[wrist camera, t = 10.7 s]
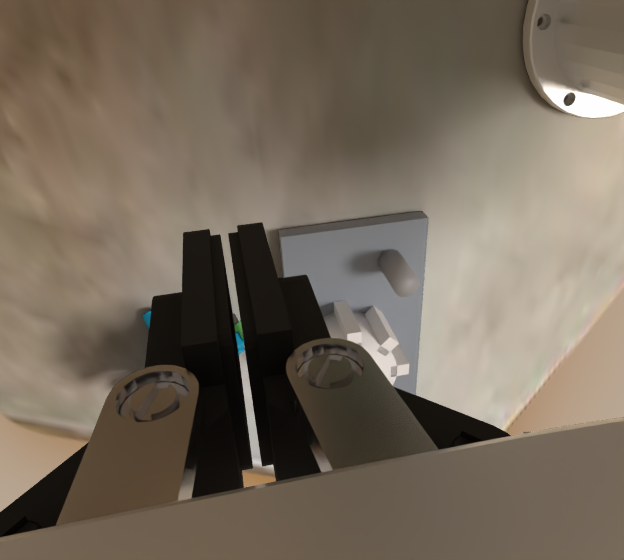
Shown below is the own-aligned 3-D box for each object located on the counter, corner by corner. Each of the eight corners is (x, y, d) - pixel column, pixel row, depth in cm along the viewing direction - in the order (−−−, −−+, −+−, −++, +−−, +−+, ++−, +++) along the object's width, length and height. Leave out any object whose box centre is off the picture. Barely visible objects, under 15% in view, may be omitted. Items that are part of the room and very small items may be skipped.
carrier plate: (422, 211, 38) (452, 243, 34) (409, 411, 49) (430, 455, 44) (276, 230, 37) (288, 266, 32) (295, 432, 47) (306, 480, 43)
